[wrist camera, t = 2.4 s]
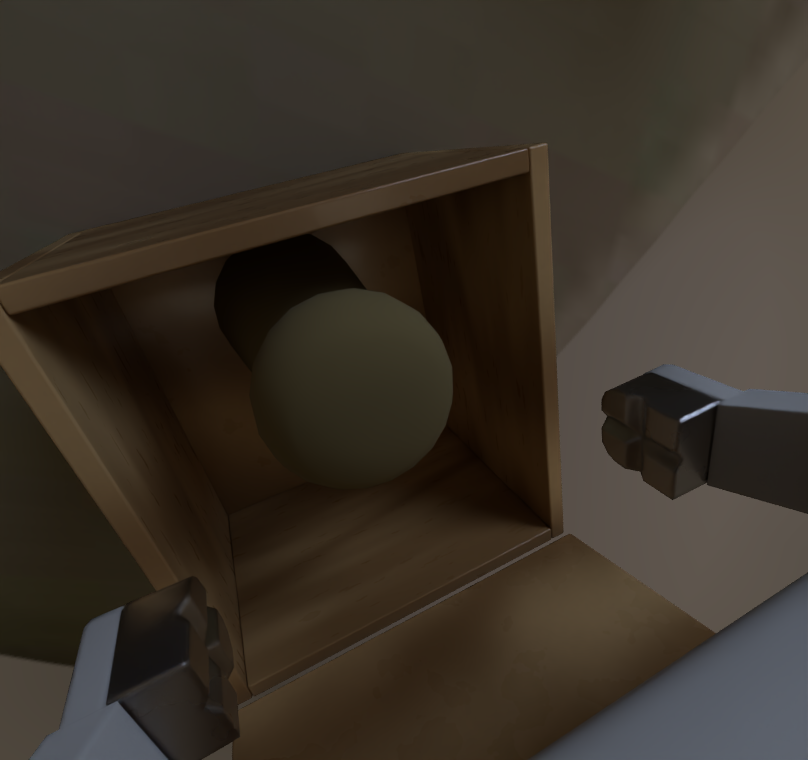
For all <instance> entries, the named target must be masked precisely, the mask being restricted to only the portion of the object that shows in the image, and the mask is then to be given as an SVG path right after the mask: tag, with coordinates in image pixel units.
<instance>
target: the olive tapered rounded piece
mask: <svg viewBox="0 0 808 760" xmlns="http://www.w3.org/2000/svg"><path fill="white" fill-rule="evenodd" d="M214 309H215V313H216V316H217V320H218V324H219V328H220V329H221V331H222V332H223V334H224V335H225V337H226V338H227V340H228V341H229V343H230V345H231V346H232V347H233V349H234V350H235V351H236V353H237V354H238V355H239V357H240V358H241V359H242V361H243V362H244V363H245V365H246V366H247V367H248V368H249V370H250V371H251V372H252V376H251V384H250V392H249V396H250V401H251V405H252V409H253V413H254V417H255V421H256V425H257V429H258V434H259V436H260V437H261V438H262V440H263V441H264V443H265V444H266V445H267V447H268V448H269V450H270V451H271V452H272V454H273V455H274V457H275V458H276V459H277V460H278V461H279V462H280V463H281V464H282V465H283V466H284V467H285V468H287V469H288V470H290V471H291V472H293V473H294V474H296V475H297V476H299V477H300V478H302V479H303V480H305V481H306V482H310V483H314V484H318V485H322V486H326V487H330V488H334V489H340V490H345V489H365V488H370V487H373V486H376V485H379V484H382V483H385V482H388V481H392V480H393V479H395V478H397V477H398V476H400V475H401V474H403V473H405V472H406V471H408V470H409V469H411V468H413V467H414V466H415V465H416V464H417V463H418V462H419V461H420V460H421V459H422V458H423V457H424V456H425V455H426V454H427V453H428V452H429V451H430V450H431V449H432V448H433V446H434V445H435V443H436V441H437V440H438V438H439V436H440V434H441V433H442V431H443V429H444V428H445V426H446V423H447V419H448V415H449V412H450V408H451V404H452V398H453V377H452V365H451V362H450V360H449V357H448V354H447V352H446V349H445V346H444V344H443V342H442V340H441V338H440V336H439V335H438V333H437V332H436V331H435V330H434V328H433V327H432V326H431V325H430V324H429V323H428V321H427V320H426V319H425V318H424V317H423V316H422V315H421V313H420V312H419V311H417V310H415V309H413V308H412V307H410V306H408V305H406V304H404V303H402V302H401V301H399V300H397V299H395V298H393V297H391V296H389V295H388V294H386V293H383V292H376V291H370V290H367V289H366V288H365V286H364V285H363V284H362V282H361V281H360V280H359V278H358V277H357V276H356V274H355V273H354V272H353V270H352V269H351V268H350V266H349V265H348V264H347V262H346V261H345V260H344V259H343V258H342V257H341V256H340V255H339V253H338V252H337V251H336V250H335V249H334V248H333V247H332V246H331V245H329V244H328V243H326V242H324V241H322V240H320V239H319V238H317V237H315V236H313V235H312V234H305V235H301V236H297V237H294V238H290V239H287V240H283V241H279V242H276V243H272V244H268V245H265V246H261V247H258V248H254V249H250V250H247V251H243V252H239V253H236V254H232V255H231V256H230V257H229V258H228V259H227V260H226V261H225V264H224V266H223V268H222V270H221V272H220V274H219V277H218V279H217V281H216V286H215V297H214Z"/></svg>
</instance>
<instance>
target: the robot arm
mask: <svg viewBox="0 0 808 760" xmlns="http://www.w3.org/2000/svg"><path fill="white" fill-rule="evenodd" d="M602 411H603V412H604V413H605V414H606V415H607V418H606V420H605V423H604V424H603V426H602V442H603V444H604V446H605V448H606V450H607V452H608V454H609V455H610V456H611V457H612V459H613V460H614V461H615V462H617V463H618V464H619V465H621V466H622V467H624V468H625V469H630V470H635V471H640V472H641V475H642V478H643V481H645V482H646V483H648V484H649V485H651V486H652V487H654V488H655V489H657V490H658V491H660V492H661V493H663V494H664V495H666V496H667V497H669V498H670V499H672V500H673V499H676V498H678V497H679V496H681V495H683V494H685V493H687V492H689V491H691V490H693V489H695V488H697V487H699V486H701V485H703V484H705V483H707V485H709V486H712V487H716V488H719V489H723V490H726V491H730V492H733V493H737V494H740V495H744V496H747V497H751V498H754V499H758V500H761V501H765V502H769V503H772V504H775V505H779V506H782V507H786V508H789V509H793V510H796V511H800V512H803V513H807V514H808V393H798V392H785V391H771V390H758V389H748V390H746V391H744V392H743V391H741V390H738V389H736V388H733V387H730V386H728V385H725V384H722V383H720V382H717V381H714V380H712V379H709V378H707V377H704V376H701V375H698V374H696V373H694V372H691V371H688V370H686V369H683V368H681V367H678V366H675V365H666V364H665V365H664V364H663V365H661V366H659V367H657V368H655V369H653V370H651V371H649V372H646V373H645V374H643V375H641V376H639V377H637V378H635V379H632V380H630V381H628V382H626V383H624V384H621V385H619V386H617V387H615V388H613V389H610V390H608V391H606V392H605V393H604V395H603V398H602ZM233 669H234V658H233V650H232V645H231V641H230V637H229V633H228V630H227V628H226V626H225V623H224V621H223V619H222V617H221V615H220V613H219V612H218V610H217V609H215V608H212V607H209V606H207V599H206V590H205V588H204V587H203V585H202V584H201V582H200V581H199V579H198V578H197V577H194V576H191V577H188V578H186V579H184V580H181V581H179V582H177V583H174V584H172V585H169V586H167V587H165V588H162V589H160V590H158V591H155V592H153V593H150V594H148V595H146V596H143V597H141V598H139V599H136V600H134V601H131V602H129V603H127V604H126V605H124V606H121V607H119V608H116V609H114V610H112V611H109V612H107V613H105V614H102V615H100V616H97V617H95V618H93V619H91V620H90V621H89V622H88V624H87V625H86V626H85V627H84V630H83V633H82V637H81V641H80V645H79V649H78V653H77V657H76V661H75V666H74V670H73V674H72V678H71V682H70V686H69V690H68V694H67V698H66V702H65V706H64V710H63V715H62V719H61V723H60V727H59V730H57V731H55V732H53V733H51V734H49V735H48V736H46V737H45V739H44V740H43V741H42V743H41V744H40V745H39V747H38V748H37V749H36V751H35V752H34V753H33V755H32V756H31V757H30V759H29V760H202V759H203V758H205V757H207V756H208V755H210V754H212V753H214V752H215V751H217V750H219V749H220V748H222V747H224V746H226V745H227V744H229V743H231V742H233V741H234V740H236V739H238V738H239V737H240V728H239V716H238V703H237V693H236V692H235V690H234V688H233V687H232V685H231V684H230V682H229V681H228V679H229V677H230V675H231V673H232V671H233ZM528 760H808V573H806V574H805V575H803V576H802V577H800V578H799V579H797V580H796V581H794V582H793V583H791V584H790V585H788V586H787V587H785V588H784V589H782V590H781V591H779V592H778V593H776V594H775V595H773V596H772V597H770V598H769V599H767V600H766V601H764V602H763V603H761V604H760V605H758V606H757V607H755V608H754V609H752V610H751V611H749V612H748V613H746V614H745V615H743V616H742V617H740V618H739V619H737V620H736V621H734V622H733V623H731V624H730V625H728V626H727V627H725V628H724V629H722V630H721V631H719V632H718V633H716V634H715V635H713V636H712V637H710V638H709V639H707V640H706V641H704V642H703V643H701V644H700V645H698V646H697V647H695V648H694V649H692V650H691V651H689V652H688V653H686V654H685V655H683V656H682V657H680V658H679V659H677V660H676V661H674V662H673V663H671V664H670V665H668V666H667V667H665V668H664V669H662V670H661V671H659V672H658V673H656V674H655V675H653V676H652V677H650V678H649V679H647V680H646V681H644V682H643V683H641V684H640V685H638V686H637V687H635V688H634V689H632V690H631V691H629V692H628V693H626V694H625V695H623V696H622V697H620V698H619V699H617V700H616V701H614V702H613V703H611V704H610V705H608V706H607V707H605V708H604V709H602V710H601V711H599V712H598V713H596V714H595V715H594V716H592V717H591V718H589V719H588V720H586V721H585V722H583V723H582V724H580V725H579V726H577V727H576V728H574V729H573V730H571V731H570V732H568V733H567V734H565V735H564V736H562V737H561V738H559V739H558V740H556V741H555V742H553V743H552V744H550V745H549V746H547V747H546V748H544V749H543V750H541V751H540V752H538V753H537V754H535V755H534V756H532V757H531V758H529V759H528Z"/></svg>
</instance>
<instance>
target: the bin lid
mask: <svg viewBox="0 0 808 760" xmlns="http://www.w3.org/2000/svg"><path fill="white" fill-rule="evenodd" d="M715 634H716V633H714V632H713V631H712V630H710V629H709V628H707V627H706V626H704V625H703V624H702V623H700V622H699V621H697V620H696V619H694V618H693V617H691V616H690V615H688V614H687V613H686V612H684V611H683V610H681V609H679V608H678V607H677V606H675V605H674V604H672V603H671V602H669V601H668V600H666V599H665V598H664V597H662V596H661V595H659V594H658V593H656V592H655V591H653V590H652V589H651V588H649V587H648V586H646V585H644V584H643V583H642V582H640V581H639V580H637V579H636V578H635V577H633V576H632V575H630V574H629V573H627V572H626V571H624V570H623V569H621V568H620V567H618V566H617V565H616V564H614V563H613V562H611V561H610V560H608V559H607V558H605V557H604V556H602V555H601V554H600V553H598V552H597V551H595V550H594V549H592V548H591V547H589V546H587V545H586V544H585V543H584V542H582V541H581V540H579V539H578V538H576V537H575V536H573V535H572V534H568V535H566V536H564V537H562V538H560V539H559V540H557V541H555V542H553V543H551V544H549V545H547V546H545V547H544V548H542V549H540V550H538V551H536V552H534V553H532V554H530V555H528V556H527V557H525V558H523V559H521V560H519V561H517V562H515V563H513V564H512V565H510V566H508V567H506V568H504V569H502V570H500V571H499V572H497V573H495V574H493V575H491V576H489V577H487V578H485V579H484V580H482V581H480V582H478V583H476V584H474V585H472V586H470V587H468V588H466V589H465V590H463V591H461V592H459V593H457V594H455V595H454V596H451V597H450V598H448V599H446V600H444V601H442V602H440V603H439V604H436V605H435V606H433V607H431V608H429V609H427V610H425V611H423V612H422V613H420V614H418V615H416V616H414V617H412V618H410V619H408V620H406V621H405V622H403V623H401V624H399V625H397V626H395V627H393V628H392V629H390V630H388V631H386V632H384V633H382V634H380V635H378V636H377V637H374V638H373V639H371V640H369V641H367V642H365V643H363V644H361V645H360V646H358V647H356V648H354V649H352V650H350V651H348V652H346V653H344V654H343V655H341V656H339V657H337V658H335V659H333V660H331V661H329V662H328V663H326V664H324V665H322V666H320V667H318V668H316V669H314V670H313V671H311V672H309V673H307V674H305V675H303V676H301V677H299V678H297V679H296V680H294V681H292V682H290V683H288V684H286V685H284V686H283V687H281V688H279V689H277V690H275V691H273V692H271V693H269V694H267V695H266V696H264V697H262V698H260V699H258V700H256V701H254V702H252V703H251V704H249V705H247V706H245V707H243V708H241V709H239V710H238V716H239V728H240V737H239V738H238V739H236V740H234V741H233V746H232V747H233V748H232V760H528V759H529V758H531V757H532V756H534V755H535V754H537V753H538V752H540V751H541V750H543V749H544V748H546V747H547V746H549V745H550V744H552V743H553V742H555V741H556V740H558V739H559V738H561V737H562V736H564V735H565V734H567V733H568V732H570V731H571V730H573V729H574V728H576V727H577V726H579V725H580V724H582V723H583V722H585V721H586V720H588V719H589V718H591V717H592V716H594V715H595V714H596V713H598V712H599V711H601V710H602V709H604V708H605V707H607V706H608V705H610V704H611V703H613V702H614V701H616V700H617V699H619V698H620V697H622V696H623V695H625V694H626V693H628V692H629V691H631V690H632V689H634V688H635V687H637V686H638V685H640V684H641V683H643V682H644V681H646V680H647V679H649V678H650V677H652V676H653V675H655V674H656V673H658V672H659V671H661V670H662V669H664V668H665V667H667V666H668V665H670V664H671V663H673V662H674V661H676V660H677V659H679V658H680V657H682V656H683V655H685V654H686V653H688V652H689V651H691V650H692V649H694V648H695V647H697V646H698V645H700V644H701V643H703V642H704V641H706V640H707V639H709V638H710V637H712V636H713V635H715Z"/></svg>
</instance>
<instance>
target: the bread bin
mask: <svg viewBox="0 0 808 760" xmlns="http://www.w3.org/2000/svg"><path fill="white" fill-rule="evenodd" d="M305 234H312V235H313V236H315V237H317V238H319V239H320V240H322V241H324V242H326V243H328V244H329V245H331V246H332V247H333V248H334V249H335V250H336V251H337V252H338V253H339V255H340V256H341V257H342V258H343V259H344V260H345V261H346V262H347V264H348V265H349V266H350V268H351V269H352V270H353V272H354V273H355V274H356V276H357V277H358V278H359V280H360V281H361V282H362V284H363V285H364V286H365V288H366V289H367V290H370V291H376V292H383V293H386V294H388V295H389V296H391V297H393V298H395V299H397V300H399V301H401V302H402V303H404V304H406V305H408V306H410V307H412V308H413V309H415V310H417V311H419V312H420V313H421V315H422V316H423V317H424V318H425V319H426V320H427V321H428V323H429V324H430V325H431V326H432V327H433V328H434V330H435V331H436V332H437V333H438V335H439V336H440V338H441V340H442V342H443V344H444V346H445V349H446V352H447V354H448V357H449V360H450V362H451V365H452V377H453V398H452V404H451V408H450V412H449V415H448V419H447V423H446V426H445V428H444V429H443V431H442V433H441V434H440V436H439V438H438V440H437V441H436V443H435V445H434V446H433V448H432V449H431V450H430V451H429V452H428V453H427V454H426V455H425V456H424V457H423V458H422V459H421V460H420V461H419V462H418V463H417V464H416V465H415V466H414V467H413V468H411V469H409V470H408V471H406V472H405V473H403V474H401V475H400V476H398V477H397V478H395V479H393V480H392V481H388V482H385V483H382V484H379V485H376V486H373V487H370V488H365V489H345V490H340V489H334V488H330V487H326V486H322V485H318V484H314V483H310V482H306V481H305V480H303V479H302V478H300V477H299V476H297V475H296V474H294V473H293V472H291V471H290V470H288V469H287V468H285V467H284V466H283V465H282V464H281V463H280V462H279V461H278V460H277V459H276V458H275V457H274V455H273V454H272V452H271V451H270V450H269V448H268V447H267V445H266V444H265V443H264V441H263V440H262V438H261V437H260V436H259V434H258V429H257V425H256V421H255V417H254V413H253V409H252V405H251V401H250V396H249V392H250V384H251V376H252V372H251V371H250V370H249V368H248V367H247V366H246V365H245V363H244V362H243V361H242V359H241V358H240V357H239V355H238V354H237V353H236V351H235V350H234V349H233V347H232V346H231V345H230V343H229V341H228V340H227V338H226V337H225V335H224V334H223V332H222V331H221V329H220V328H219V324H218V320H217V316H216V313H215V309H214V297H215V286H216V281H217V279H218V277H219V274H220V272H221V270H222V268H223V266H224V264H225V261H226V260H227V259H228V258H229V257H230V256H231V255H232V254H236V253H239V252H243V251H247V250H250V249H254V248H258V247H261V246H265V245H268V244H272V243H276V242H279V241H283V240H287V239H290V238H294V237H297V236H301V235H305ZM0 365H1V367H2V368H3V369H4V371H5V372H6V374H7V375H8V377H9V378H10V380H11V381H12V383H13V384H14V385H15V387H16V388H17V390H18V391H19V393H20V394H21V396H22V397H23V398H24V400H25V401H26V403H27V404H28V406H29V407H30V409H31V410H32V412H33V413H34V414H35V416H36V417H37V419H38V420H39V422H40V423H41V425H42V426H43V427H44V429H45V430H46V432H47V433H48V435H49V436H50V438H51V439H52V440H53V442H54V443H55V445H56V446H57V448H58V449H59V451H60V452H61V454H62V455H63V456H64V458H65V459H66V461H67V462H68V464H69V465H70V467H71V468H72V469H73V471H74V472H75V474H76V475H77V477H78V478H79V480H80V481H81V483H82V484H83V485H84V487H85V488H86V490H87V491H88V493H89V494H90V496H91V497H92V498H93V500H94V501H95V503H96V504H97V506H98V507H99V509H100V510H101V511H102V513H103V514H104V516H105V517H106V519H107V520H108V522H109V523H110V525H111V526H112V527H113V529H114V530H115V532H116V533H117V535H118V536H119V538H120V539H121V540H122V542H123V543H124V545H125V546H126V548H127V549H128V551H129V552H130V554H131V555H132V556H133V558H134V559H135V561H136V562H137V564H138V565H139V567H140V568H141V569H142V571H143V572H144V574H145V575H146V577H147V578H148V580H149V581H150V582H151V584H152V585H153V587H154V588H155V590H156V591H158V590H160V589H162V588H165V587H167V586H169V585H172V584H174V583H177V582H179V581H181V580H184V579H186V578H188V577H191V576H194V577H197V578H198V579H199V581H200V582H201V584H202V585H203V587H204V588H205V590H206V599H207V606H209V607H212V608H215V609H217V610H218V612H219V613H220V615H221V617H222V619H223V621H224V623H225V626H226V628H227V630H228V633H229V637H230V641H231V645H232V650H233V658H234V669H233V671H232V673H231V675H230V677H229V679H228V681H229V682H230V684H231V685H232V687H233V688H234V690H235V692H236V693H237V703H238V705H239V704H241V703H243V702H245V701H247V700H249V699H250V698H252V696H256V695H258V694H260V693H262V692H264V691H266V690H268V689H270V688H272V687H273V686H275V685H277V684H279V683H281V682H283V681H285V680H287V679H289V678H290V677H292V676H294V675H296V674H298V673H300V672H302V671H303V670H305V669H307V668H309V667H311V666H313V665H315V664H317V663H319V662H320V661H323V660H324V659H326V658H328V657H330V656H332V655H334V654H335V653H338V652H339V651H341V650H343V649H345V648H347V647H349V646H351V645H352V644H354V643H356V642H358V641H360V640H362V639H364V638H366V637H368V636H370V635H372V634H373V633H375V632H377V631H379V630H381V629H383V628H385V627H387V626H389V625H390V624H392V623H394V622H396V621H398V620H400V619H402V618H404V617H405V616H407V615H409V614H411V613H413V612H415V611H417V610H419V609H421V608H423V607H424V606H426V605H428V604H430V603H432V602H434V601H436V600H438V599H439V598H441V597H443V596H445V595H447V594H449V593H451V592H453V591H455V590H456V589H458V588H460V587H462V586H464V585H466V584H468V583H470V582H472V581H474V580H475V579H477V578H479V577H481V576H483V575H485V574H487V573H488V572H491V571H492V570H494V569H496V568H498V567H500V566H502V565H504V564H506V563H508V562H509V561H511V560H513V559H515V558H517V557H519V556H521V555H522V554H524V553H526V552H528V551H530V550H532V549H534V548H535V547H538V546H540V545H541V544H543V543H545V542H547V541H549V540H551V538H554V537H556V536H558V535H560V534H562V533H563V508H562V484H561V459H560V435H559V410H558V387H557V363H556V337H555V313H554V288H553V264H552V240H551V215H550V191H549V167H548V145H547V143H534V144H520V145H507V146H493V147H480V148H466V149H453V150H439V151H426V152H412V153H401V154H397V155H393V156H389V157H385V158H380V159H376V160H372V161H368V162H364V163H360V164H356V165H352V166H347V167H343V168H339V169H335V170H331V171H327V172H323V173H319V174H315V175H310V176H306V177H302V178H298V179H294V180H290V181H286V182H282V183H277V184H273V185H269V186H265V187H261V188H257V189H253V190H249V191H244V192H240V193H236V194H232V195H228V196H224V197H220V198H216V199H212V200H207V201H203V202H199V203H195V204H191V205H187V206H183V207H179V208H174V209H170V210H166V211H162V212H158V213H154V214H150V215H146V216H142V217H137V218H133V219H129V220H125V221H121V222H117V223H113V224H109V225H104V226H100V227H96V228H92V229H88V230H84V231H80V232H76V233H71V234H68V235H66V236H64V237H63V238H61V239H59V240H57V241H55V242H53V243H52V244H50V245H48V246H46V247H44V248H42V249H41V250H39V251H37V252H35V253H33V254H31V255H30V256H28V257H26V258H24V259H22V260H20V261H19V262H17V263H15V264H13V265H11V266H9V267H8V268H6V269H4V270H2V271H0Z"/></svg>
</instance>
